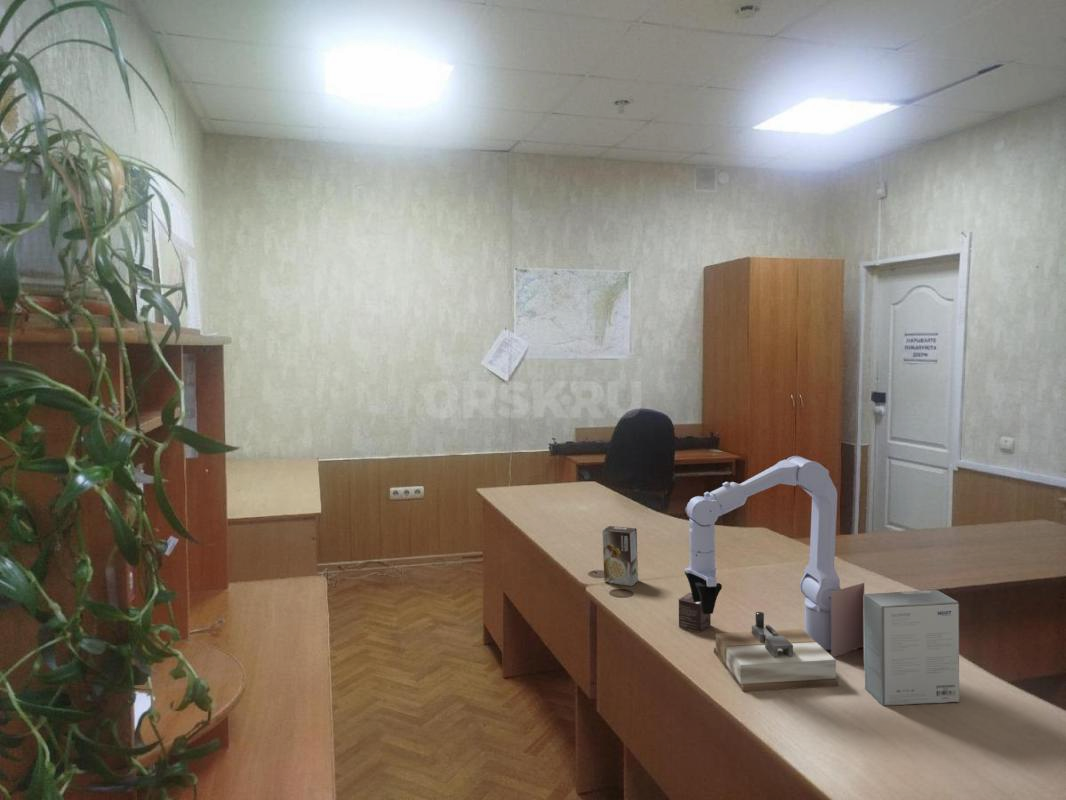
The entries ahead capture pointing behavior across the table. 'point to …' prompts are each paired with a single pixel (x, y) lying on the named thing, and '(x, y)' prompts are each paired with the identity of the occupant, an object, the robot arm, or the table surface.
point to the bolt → (762, 624)
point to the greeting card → (847, 620)
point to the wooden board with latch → (775, 660)
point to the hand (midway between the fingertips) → (702, 607)
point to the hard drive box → (911, 647)
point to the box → (692, 614)
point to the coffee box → (620, 555)
